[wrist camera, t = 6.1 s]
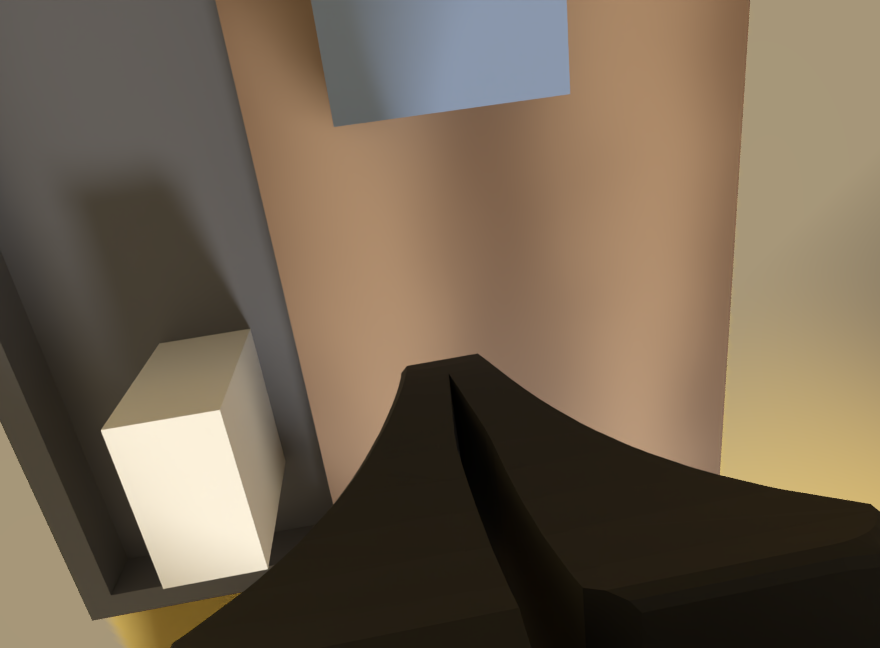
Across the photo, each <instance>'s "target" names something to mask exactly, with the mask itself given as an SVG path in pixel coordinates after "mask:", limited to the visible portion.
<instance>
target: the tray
mask: <svg viewBox="0 0 880 648" xmlns="http://www.w3.org/2000/svg"><path fill="white" fill-rule="evenodd" d="M245 329H251V333H252V337H253V341H254V344H255V348H256V352H257V356H258V359H259V363H260V367H261V371H262V375H263V378H264V382H265V386H266V390H267V393H268V397H269V401H270V405H271V408H272V412H273V416H274V420H275V424H276V427H277V431H278V435H279V439H280V442H281V446H282V450H283V454H284V458H285V461H286V463H285V469H284V475H283V481H282V487H281V493H280V499H279V505H278V511H277V517H276V523H275V530H274V536H273V542H272V548H271V554H270V560H269V566H268V569H267V570H261V571H256V572H251V573H245V574H240V575H235V576H229V577H224V578H219V579H214V580H208V581H203V582H198V583H192V584H187V585H182V586H176V587H171V588H166V589H163V587H162V584H161V582H160V579H159V577H158V574H157V572H156V569H155V567H154V564H153V562H152V559H151V557H150V554H149V551H148V549H147V546H146V544H145V541H144V539H143V536H142V534H141V531H140V529H139V526H138V524H137V521H136V518H135V516H134V513H133V511H132V508H131V506H130V503H129V501H128V498H127V496H126V493H125V491H124V488H123V486H122V483H121V480H120V478H119V475H118V473H117V470H116V468H115V465H114V463H113V460H112V458H111V455H110V453H109V450H108V447H107V445H106V442H105V440H104V437H103V435H102V432H101V429H102V428H103V426H104V425H105V423H106V422H107V420H108V419H109V417H110V416H111V414H112V413H113V411H114V410H115V408H116V407H117V405H118V404H119V402H120V401H121V400H122V398H123V397H124V395H125V394H126V392H127V391H128V389H129V388H130V386H131V385H132V383H133V382H134V380H135V379H136V377H137V376H138V374H139V373H140V371H141V370H142V369H143V367H144V366H145V364H146V363H147V361H148V360H149V358H150V357H151V355H152V354H153V352H154V351H155V349H156V348H157V346H158V345H159V343H165V342H172V341H178V340H184V339H190V338H196V337H202V336H208V335H215V334H221V333H227V332H233V331H239V330H245ZM0 422H1V424H2V426H3V428H4V430H5V433H6V435H7V437H8V439H9V441H10V443H11V445H12V448H13V450H14V452H15V454H16V456H17V458H18V461H19V463H20V465H21V467H22V469H23V472H24V474H25V476H26V478H27V480H28V482H29V484H30V487H31V489H32V491H33V493H34V495H35V497H36V500H37V502H38V504H39V506H40V508H41V510H42V512H43V515H44V517H45V519H46V521H47V523H48V526H49V528H50V530H51V532H52V534H53V536H54V539H55V541H56V543H57V545H58V547H59V549H60V552H61V554H62V556H63V558H64V560H65V562H66V564H67V567H68V569H69V571H70V573H71V575H72V577H73V580H74V582H75V584H76V586H77V588H78V591H79V593H80V595H81V597H82V599H83V601H84V604H85V606H86V608H87V610H88V612H89V614H90V616H91V619H92V620H98V619H103V618H108V617H113V616H119V615H124V614H129V613H135V612H140V611H145V610H150V609H156V608H161V607H166V606H172V605H177V604H182V603H188V602H193V601H198V600H203V599H209V598H214V597H219V596H225V595H230V594H235V593H241V592H244V591H245V590H246V589H247V588H248V587H250V586H251V585H252V584H253V583H255V582H256V581H257V580H258V579H259V578H260V577H262V576H263V575H264V574H265V573H266V572H267V571H268V570H270V569H271V568H272V567H273V566H274V565H275V564H276V563H278V562H279V561H280V560H281V559H282V558H283V557H284V556H285V555H286V554H287V553H288V552H289V551H290V550H292V549H293V548H294V547H295V546H296V545H297V544H298V543H299V542H300V541H301V540H302V539H303V538H304V537H305V536H306V535H307V534H308V533H309V531H310V530H311V529H312V528H313V527H314V526H315V525H316V524H317V523H318V521H319V520H320V519H321V518H322V517H323V516H324V515H325V514H326V512H327V511H328V510H329V509H330V508H331V506H332V505H333V501H332V497H331V493H330V489H329V484H328V480H327V476H326V471H325V467H324V463H323V459H322V454H321V450H320V446H319V442H318V437H317V433H316V429H315V424H314V420H313V416H312V412H311V407H310V403H309V399H308V394H307V390H306V386H305V382H304V377H303V373H302V369H301V365H300V360H299V356H298V352H297V347H296V343H295V339H294V335H293V330H292V326H291V322H290V318H289V313H288V309H287V305H286V300H285V296H284V292H283V288H282V283H281V279H280V275H279V270H278V266H277V262H276V258H275V253H274V249H273V245H272V241H271V236H270V232H269V228H268V223H267V219H266V215H265V211H264V206H263V202H262V198H261V193H260V189H259V185H258V181H257V176H256V172H255V168H254V164H253V159H252V155H251V151H250V146H249V142H248V138H247V134H246V129H245V125H244V121H243V116H242V112H241V108H240V104H239V99H238V95H237V91H236V87H235V82H234V78H233V74H232V69H231V65H230V61H229V57H228V52H227V48H226V44H225V40H224V35H223V31H222V27H221V22H220V18H219V14H218V10H217V5H216V1H215V0H0Z"/></svg>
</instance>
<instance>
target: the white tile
mask: <svg viewBox="0 0 880 648" xmlns="http://www.w3.org/2000/svg"><path fill="white" fill-rule="evenodd" d="M101 432H102V435H103V437H104V440H105V442H106V445H107V447H108V450H109V453H110V455H111V458H112V460H113V463H114V465H115V468H116V470H117V473H118V475H119V478H120V480H121V483H122V486H123V488H124V491H125V493H126V496H127V498H128V501H129V503H130V506H131V508H132V511H133V513H134V516H135V518H136V521H137V524H138V526H139V529H140V531H141V534H142V536H143V539H144V541H145V544H146V546H147V549H148V551H149V554H150V557H151V559H152V562H153V564H154V567H155V569H156V572H157V574H158V577H159V579H160V582H161V584H162V587H163V589H166V588H171V587H176V586H182V585H187V584H192V583H198V582H203V581H208V580H214V579H219V578H224V577H229V576H235V575H240V574H245V573H251V572H256V571H261V570H267V569H268V566H269V560H270V554H271V548H272V542H273V536H274V530H275V523H276V517H277V511H278V505H279V499H280V493H281V487H282V481H283V475H284V469H285V463H286V461H285V458H284V454H283V450H282V446H281V442H280V439H279V435H278V431H277V427H276V424H275V420H274V416H273V412H272V408H271V405H270V401H269V397H268V393H267V390H266V386H265V382H264V378H263V375H262V371H261V367H260V363H259V359H258V356H257V352H256V348H255V344H254V341H253V337H252V333H251V329H245V330H239V331H233V332H227V333H221V334H215V335H208V336H202V337H196V338H190V339H184V340H178V341H172V342H165V343H159V345H158V346H157V348H156V349H155V351H154V352H153V354H152V355H151V357H150V358H149V360H148V361H147V363H146V364H145V366H144V367H143V369H142V370H141V371H140V373H139V374H138V376H137V377H136V379H135V380H134V382H133V383H132V385H131V386H130V388H129V389H128V391H127V392H126V394H125V395H124V397H123V398H122V400H121V401H120V402H119V404H118V405H117V407H116V408H115V410H114V411H113V413H112V414H111V416H110V417H109V419H108V420H107V422H106V423H105V425H104V426H103V428H102V429H101Z"/></svg>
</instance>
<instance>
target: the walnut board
mask: <svg viewBox="0 0 880 648" xmlns="http://www.w3.org/2000/svg"><path fill="white" fill-rule="evenodd" d="M215 1H216V5H217V10H218V14H219V18H220V22H221V27H222V31H223V35H224V40H225V44H226V48H227V52H228V57H229V61H230V65H231V69H232V74H233V78H234V82H235V87H236V91H237V95H238V99H239V104H240V108H241V112H242V116H243V121H244V125H245V129H246V134H247V138H248V142H249V146H250V151H251V155H252V159H253V164H254V168H255V172H256V176H257V181H258V185H259V189H260V193H261V198H262V202H263V206H264V211H265V215H266V219H267V223H268V228H269V232H270V236H271V241H272V245H273V249H274V253H275V258H276V262H277V266H278V270H279V275H280V279H281V283H282V288H283V292H284V296H285V300H286V305H287V309H288V313H289V318H290V322H291V326H292V330H293V335H294V339H295V343H296V347H297V352H298V356H299V360H300V365H301V369H302V373H303V377H304V382H305V386H306V390H307V394H308V399H309V403H310V407H311V412H312V416H313V420H314V424H315V429H316V433H317V437H318V442H319V446H320V450H321V454H322V459H323V463H324V467H325V471H326V476H327V480H328V484H329V489H330V493H331V497H332V501H333V504H334V503H335V502H336V500H337V499H338V498H339V496H340V495H341V494H342V492H343V491H344V490H345V488H346V487H347V485H348V484H349V483H350V481H351V480H352V478H353V477H354V475H355V474H356V472H357V471H358V469H359V468H360V466H361V465H362V463H363V461H364V460H365V458H366V456H367V454H368V453H369V451H370V449H371V447H372V445H373V444H374V442H375V440H376V438H377V436H378V435H379V433H380V431H381V429H382V427H383V424H384V422H385V420H386V418H387V415H388V413H389V411H390V409H391V406H392V404H393V401H394V398H395V396H396V393H397V390H398V387H399V383H400V379H401V373H402V371H403V370H404V369H405V368H406V366H409V365H415V364H420V363H426V362H432V361H437V360H443V359H449V358H455V357H460V356H466V355H472V354H477V353H478V354H479V355H481V356H482V357H483V358H485V359H486V360H487V361H489V362H490V363H491V364H493V365H494V366H495V367H496V368H498V369H499V370H500V371H502V372H503V373H504V374H505V375H507V376H508V377H509V378H511V379H512V380H513V381H515V382H516V383H517V384H519V385H520V386H522V387H523V388H524V389H526V390H527V391H529V392H530V393H532V394H533V395H535V396H536V397H538V398H539V399H541V400H542V401H544V402H545V403H547V404H549V405H550V406H552V407H554V408H555V409H557V410H559V411H561V412H562V413H564V414H566V415H568V416H569V417H571V418H573V419H575V420H576V421H578V422H580V423H582V424H584V425H586V426H588V427H590V428H592V429H594V430H596V431H598V432H601V433H603V434H605V435H607V436H609V437H612V438H614V439H616V440H618V441H621V442H623V443H625V444H627V445H630V446H632V447H635V448H638V449H640V450H643V451H645V452H648V453H651V454H654V455H657V456H660V457H663V458H666V459H669V460H672V461H675V462H677V463H680V464H683V465H686V466H690V467H693V468H696V469H700V470H704V471H707V472H711V473H714V474H718V475H720V462H721V446H722V431H723V415H724V399H725V384H726V368H727V352H728V337H729V321H730V305H731V290H732V274H733V258H734V243H735V227H736V211H737V196H738V180H739V164H740V149H741V133H742V117H743V102H744V86H745V71H746V55H747V39H748V24H749V8H750V0H567V22H568V48H569V74H570V94H567V95H560V96H553V97H546V98H538V99H531V100H524V101H517V102H510V103H503V104H495V105H488V106H481V107H474V108H467V109H460V110H453V111H445V112H438V113H431V114H424V115H417V116H410V117H402V118H395V119H388V120H381V121H374V122H367V123H360V124H352V125H345V126H338V127H334V125H333V120H332V114H331V109H330V103H329V98H328V92H327V87H326V81H325V76H324V70H323V65H322V59H321V54H320V48H319V42H318V37H317V31H316V26H315V20H314V15H313V9H312V4H311V0H215Z"/></svg>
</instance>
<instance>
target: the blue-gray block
mask: <svg viewBox="0 0 880 648" xmlns="http://www.w3.org/2000/svg"><path fill="white" fill-rule="evenodd" d="M311 4H312V9H313V15H314V20H315V26H316V31H317V37H318V42H319V48H320V54H321V59H322V65H323V70H324V76H325V81H326V87H327V92H328V98H329V103H330V109H331V114H332V120H333V125H334V127H338V126H345V125H352V124H360V123H367V122H374V121H381V120H388V119H395V118H402V117H410V116H417V115H424V114H431V113H438V112H445V111H453V110H460V109H467V108H474V107H481V106H488V105H495V104H503V103H510V102H517V101H524V100H531V99H538V98H546V97H553V96H560V95H567V94H570V74H569V48H568V22H567V0H311Z"/></svg>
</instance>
